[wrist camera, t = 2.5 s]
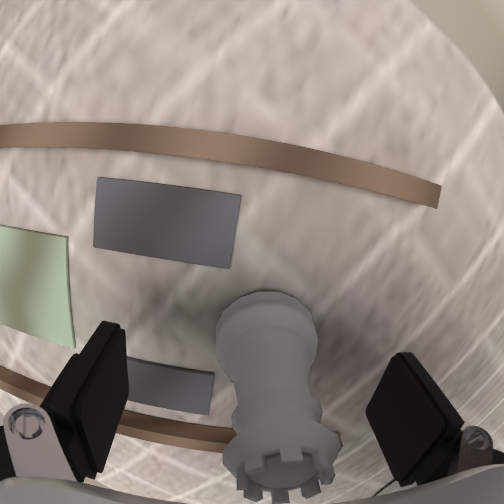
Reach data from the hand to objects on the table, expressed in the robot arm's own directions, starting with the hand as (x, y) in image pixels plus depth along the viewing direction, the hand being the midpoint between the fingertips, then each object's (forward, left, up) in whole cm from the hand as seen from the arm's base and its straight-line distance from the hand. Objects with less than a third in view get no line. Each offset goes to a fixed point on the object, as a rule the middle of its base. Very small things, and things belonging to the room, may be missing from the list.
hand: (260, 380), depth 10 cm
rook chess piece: (-1, 0, -4) cm, 4 cm away
